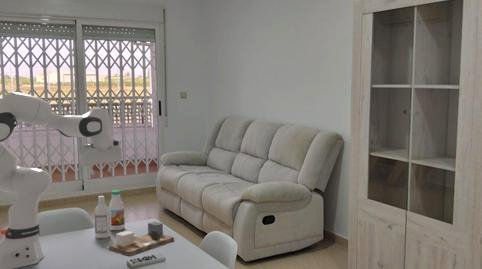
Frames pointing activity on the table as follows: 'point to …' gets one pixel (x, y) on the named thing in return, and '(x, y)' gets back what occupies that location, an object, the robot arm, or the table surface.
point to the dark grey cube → (155, 228)
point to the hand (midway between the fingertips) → (101, 173)
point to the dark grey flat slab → (154, 235)
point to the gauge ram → (125, 238)
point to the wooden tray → (141, 244)
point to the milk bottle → (116, 211)
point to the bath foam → (102, 219)
